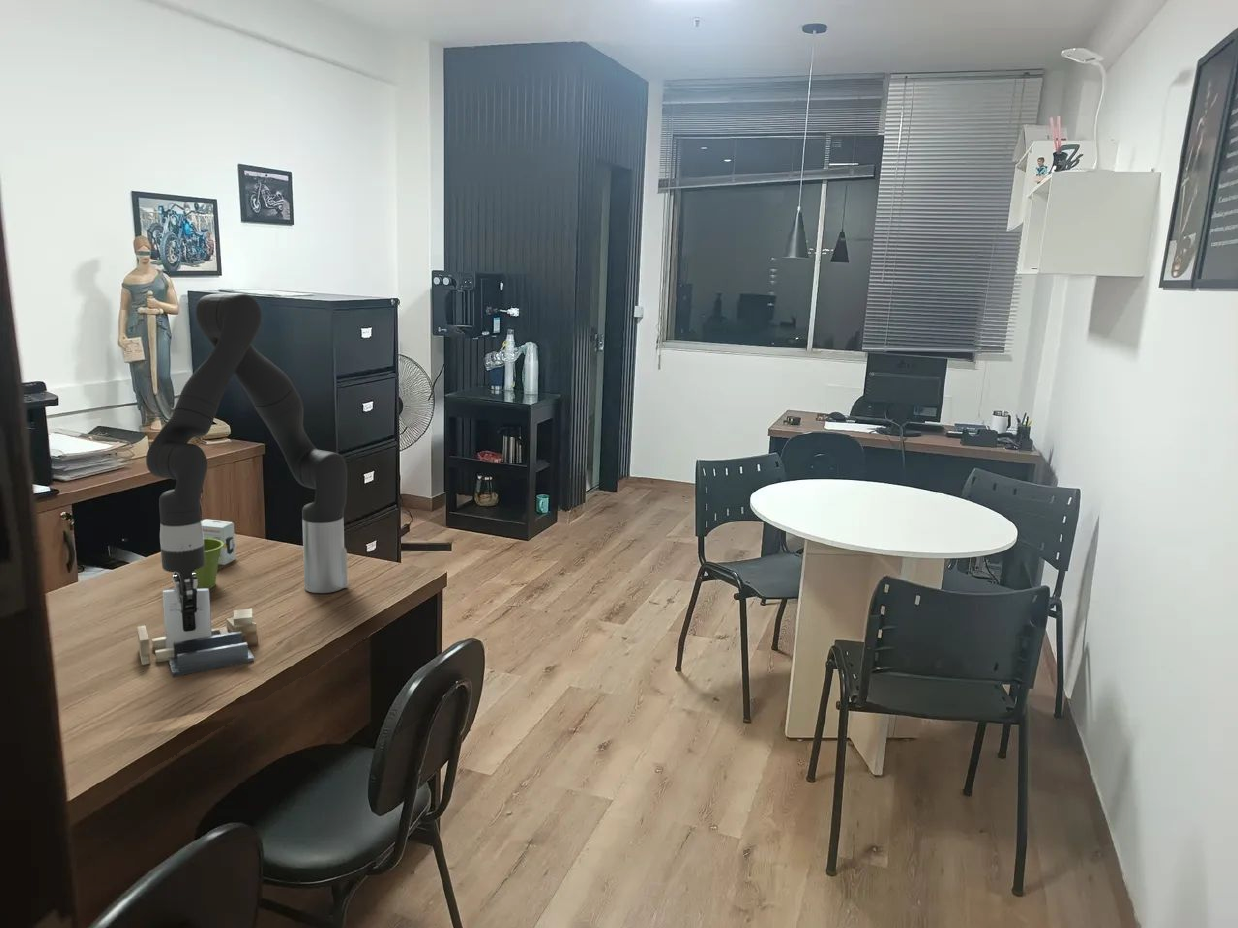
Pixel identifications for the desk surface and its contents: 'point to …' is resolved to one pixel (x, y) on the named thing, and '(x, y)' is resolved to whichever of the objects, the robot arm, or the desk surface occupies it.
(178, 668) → the stand
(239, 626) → the offcut stack
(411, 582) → the desk surface
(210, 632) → the hard drive
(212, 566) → the plant pot
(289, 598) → the desk surface
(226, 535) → the ink box
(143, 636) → the frame
